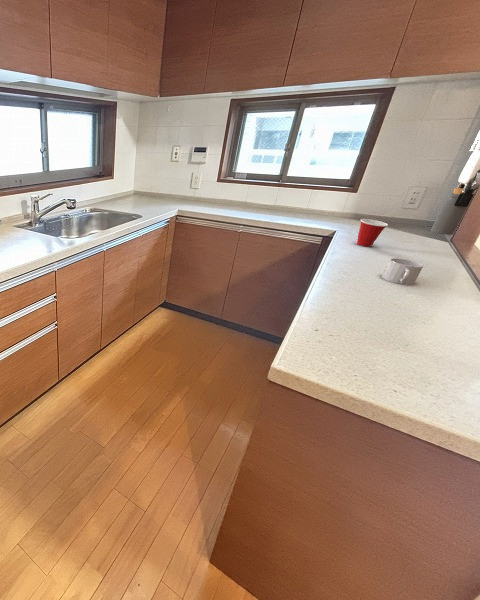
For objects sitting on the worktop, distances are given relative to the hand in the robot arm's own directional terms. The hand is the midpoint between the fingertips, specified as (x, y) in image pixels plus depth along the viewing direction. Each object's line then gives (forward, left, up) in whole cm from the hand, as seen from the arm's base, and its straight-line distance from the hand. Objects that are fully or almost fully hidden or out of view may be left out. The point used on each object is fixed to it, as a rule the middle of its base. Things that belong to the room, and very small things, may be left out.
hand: (458, 204), depth 111 cm
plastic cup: (+14, -44, -28) cm, 54 cm away
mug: (+7, +9, -28) cm, 30 cm away
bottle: (0, 0, -10) cm, 10 cm away
